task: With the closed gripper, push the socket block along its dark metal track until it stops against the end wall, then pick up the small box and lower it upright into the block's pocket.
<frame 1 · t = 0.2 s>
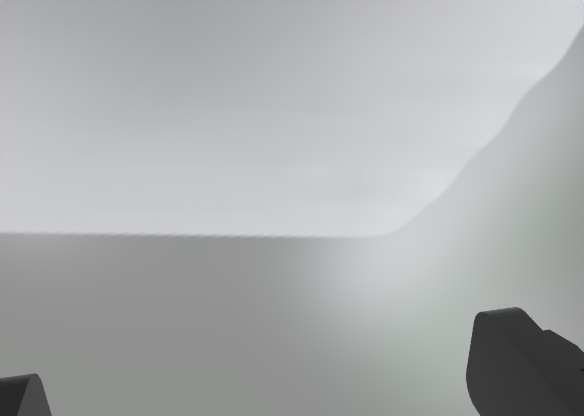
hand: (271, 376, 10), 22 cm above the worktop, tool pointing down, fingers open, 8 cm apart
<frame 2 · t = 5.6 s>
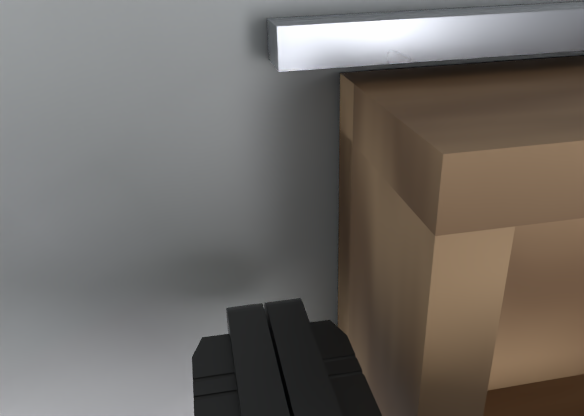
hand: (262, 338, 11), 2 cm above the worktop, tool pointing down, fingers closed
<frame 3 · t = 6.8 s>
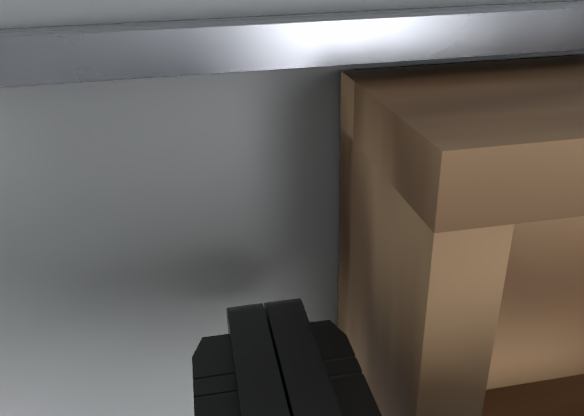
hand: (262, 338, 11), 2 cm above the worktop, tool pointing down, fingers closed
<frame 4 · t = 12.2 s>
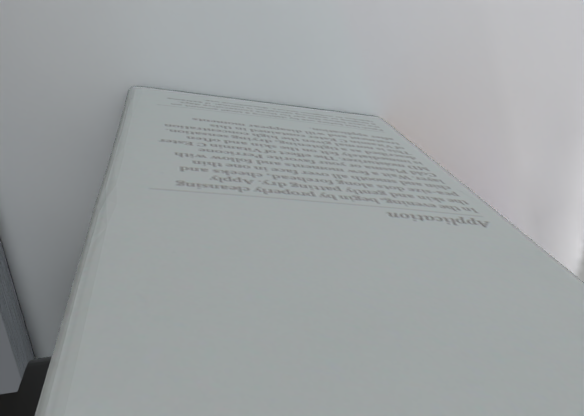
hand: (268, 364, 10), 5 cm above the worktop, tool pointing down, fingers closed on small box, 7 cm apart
small box: (241, 238, 15), on the worktop, touching gripper
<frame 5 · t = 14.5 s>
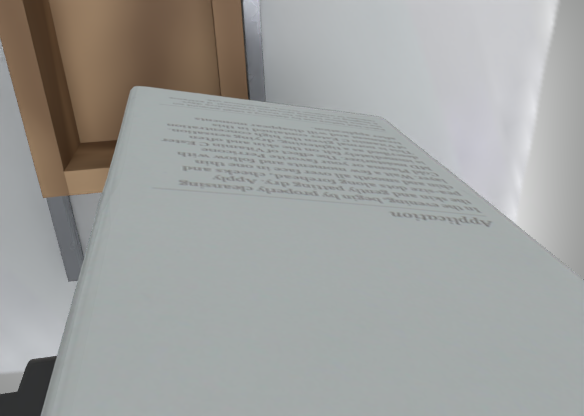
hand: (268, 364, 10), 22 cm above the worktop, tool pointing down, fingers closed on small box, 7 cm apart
socket block: (135, 50, 26), point 3 cm above the worktop, slide at 7.0 cm
small box: (243, 238, 15), point 17 cm above the worktop, touching gripper
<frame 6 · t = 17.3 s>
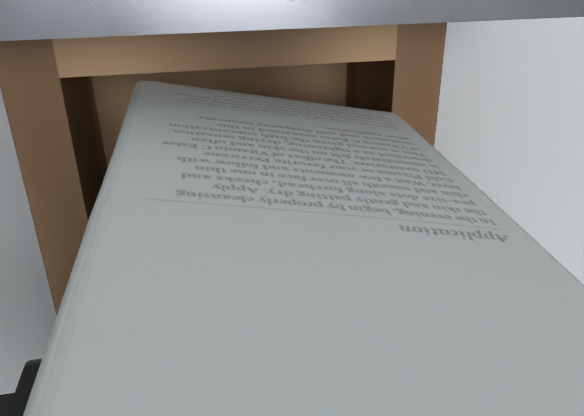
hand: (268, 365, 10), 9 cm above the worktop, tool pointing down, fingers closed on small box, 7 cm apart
socket block: (236, 211, 17), point 3 cm above the worktop, slide at 7.1 cm, touching backstop track, small box
small box: (251, 235, 15), point 5 cm above the worktop, touching gripper, socket block
when the fingers open (7 cm above the worktop, at t = 18.6 s): small box drops 3 cm, resting on socket block.
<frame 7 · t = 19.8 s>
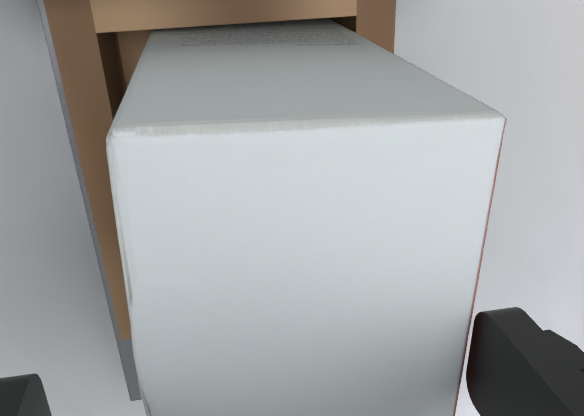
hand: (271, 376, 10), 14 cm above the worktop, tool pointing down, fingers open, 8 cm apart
socket block: (237, 149, 20), point 3 cm above the worktop, slide at 6.7 cm, touching small box
small box: (247, 121, 21), point 1 cm above the worktop, touching socket block
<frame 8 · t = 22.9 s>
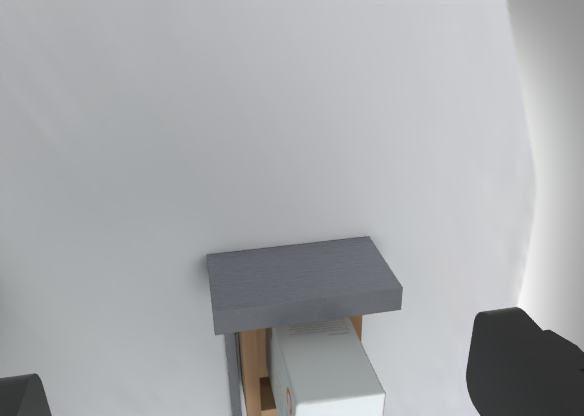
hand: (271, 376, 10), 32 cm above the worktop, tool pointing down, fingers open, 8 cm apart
socket block: (297, 342, 48), point 3 cm above the worktop, slide at 6.7 cm, touching small box
small box: (299, 325, 49), point 1 cm above the worktop, touching socket block
backstop track: (290, 255, 47), on the worktop
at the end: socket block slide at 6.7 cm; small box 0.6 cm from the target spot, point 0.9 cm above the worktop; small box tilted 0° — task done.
